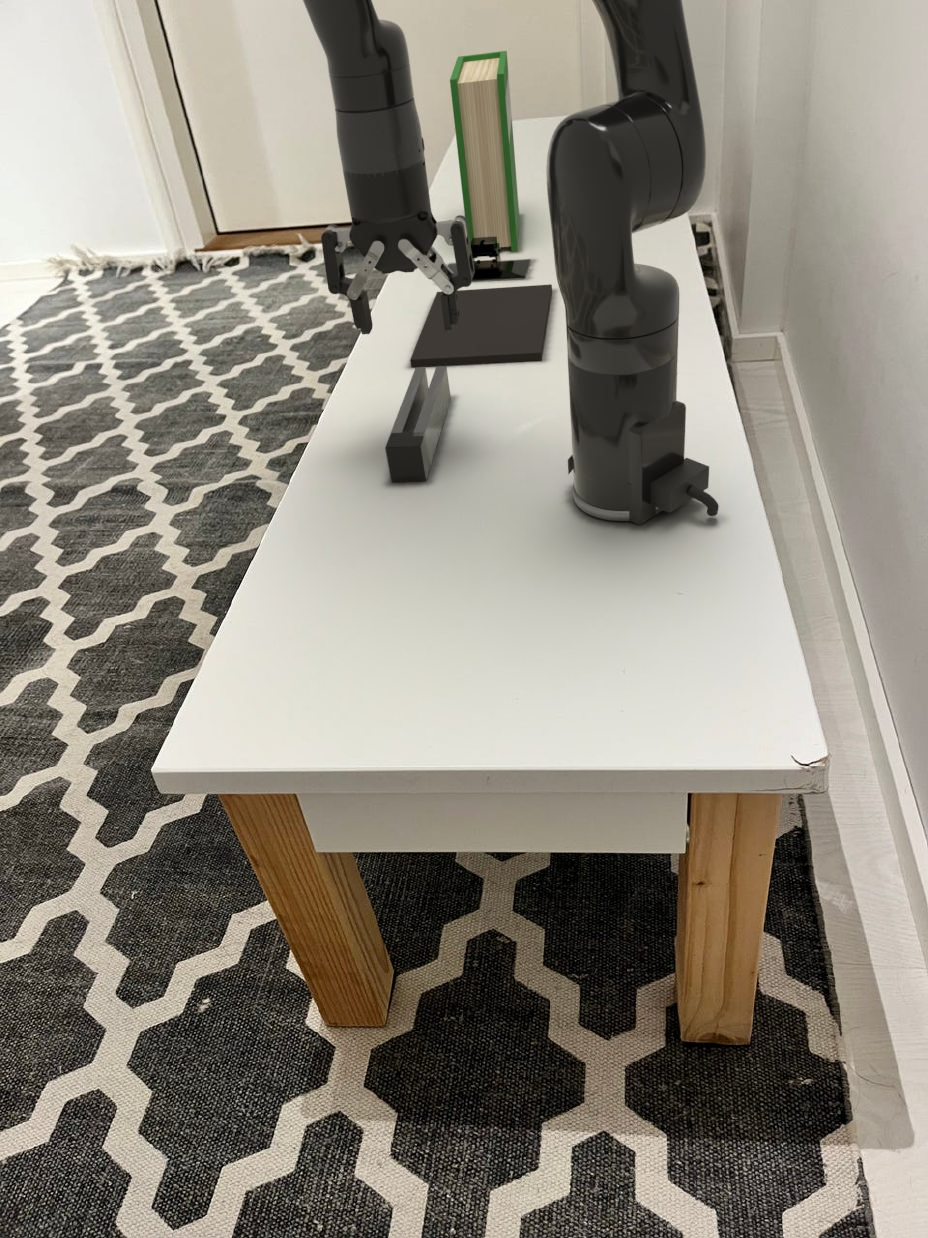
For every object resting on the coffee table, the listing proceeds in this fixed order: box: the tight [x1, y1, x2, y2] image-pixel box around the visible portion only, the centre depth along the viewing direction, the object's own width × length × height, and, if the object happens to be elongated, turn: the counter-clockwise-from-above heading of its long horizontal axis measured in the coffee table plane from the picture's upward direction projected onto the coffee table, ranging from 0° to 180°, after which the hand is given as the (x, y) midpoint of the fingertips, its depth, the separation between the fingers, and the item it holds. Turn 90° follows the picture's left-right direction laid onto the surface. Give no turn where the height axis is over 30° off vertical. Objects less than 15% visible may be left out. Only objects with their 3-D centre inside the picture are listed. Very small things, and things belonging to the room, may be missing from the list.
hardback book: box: [449, 50, 520, 253], centre depth 146 cm, size 18×7×24 cm, turn 177°
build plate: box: [447, 237, 532, 282], centre depth 139 cm, size 12×7×5 cm, turn 80°
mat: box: [409, 283, 553, 368], centre depth 125 cm, size 22×16×1 cm
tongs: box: [384, 365, 452, 483], centre depth 102 cm, size 18×4×4 cm, turn 173°
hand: (408, 329), depth 97 cm, fingers open, 8 cm apart
